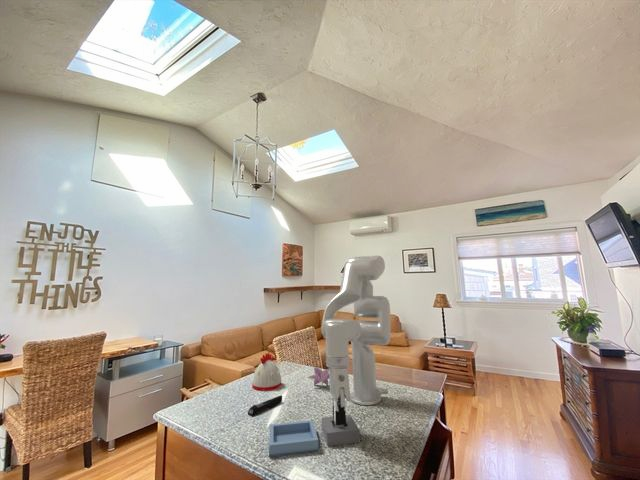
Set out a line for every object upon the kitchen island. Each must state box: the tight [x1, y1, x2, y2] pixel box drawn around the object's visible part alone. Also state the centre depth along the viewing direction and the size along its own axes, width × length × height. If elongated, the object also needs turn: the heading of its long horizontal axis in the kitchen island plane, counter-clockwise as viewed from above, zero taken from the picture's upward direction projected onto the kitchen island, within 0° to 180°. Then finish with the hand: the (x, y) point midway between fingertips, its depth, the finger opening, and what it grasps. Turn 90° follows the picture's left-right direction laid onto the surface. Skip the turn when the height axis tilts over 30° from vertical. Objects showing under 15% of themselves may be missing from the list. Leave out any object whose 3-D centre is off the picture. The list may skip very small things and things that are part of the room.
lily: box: [308, 366, 329, 391], centre depth 128 cm, size 12×12×10 cm
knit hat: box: [251, 352, 282, 392], centre depth 133 cm, size 14×14×15 cm
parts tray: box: [268, 419, 319, 458], centre depth 83 cm, size 14×12×3 cm
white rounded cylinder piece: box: [334, 399, 345, 428], centre depth 87 cm, size 3×3×10 cm
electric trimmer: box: [247, 394, 283, 417], centre depth 107 cm, size 4×16×3 cm, turn 139°
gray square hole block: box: [320, 414, 360, 447], centre depth 87 cm, size 10×10×4 cm
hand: (339, 420), depth 87 cm, fingers closed on white rounded cylinder piece, 3 cm apart
